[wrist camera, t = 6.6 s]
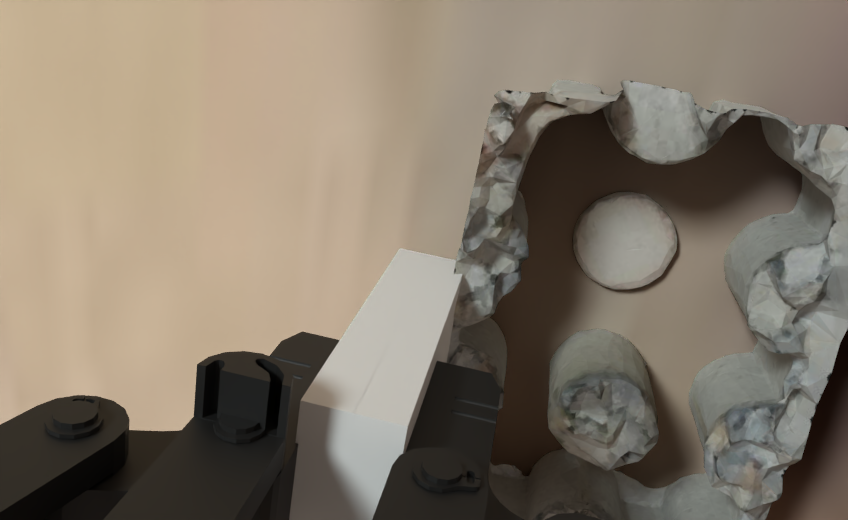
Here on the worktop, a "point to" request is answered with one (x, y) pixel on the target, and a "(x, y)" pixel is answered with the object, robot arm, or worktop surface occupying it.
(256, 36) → the worktop surface
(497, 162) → the egg carton
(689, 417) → the worktop surface
